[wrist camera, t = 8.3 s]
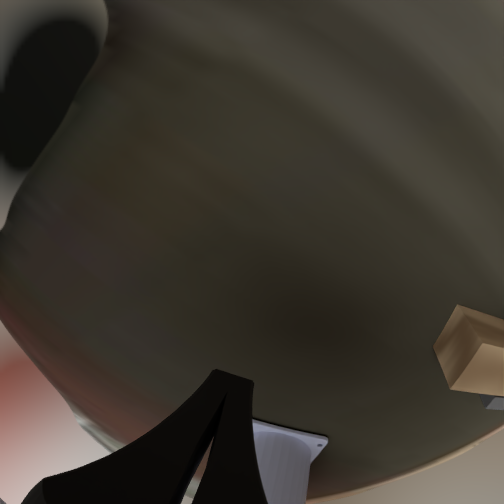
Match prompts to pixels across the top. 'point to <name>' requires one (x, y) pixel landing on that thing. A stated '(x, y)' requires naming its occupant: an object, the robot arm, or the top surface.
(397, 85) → the top surface
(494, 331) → the brown wooden block
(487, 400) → the end cap
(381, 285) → the top surface
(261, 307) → the top surface
